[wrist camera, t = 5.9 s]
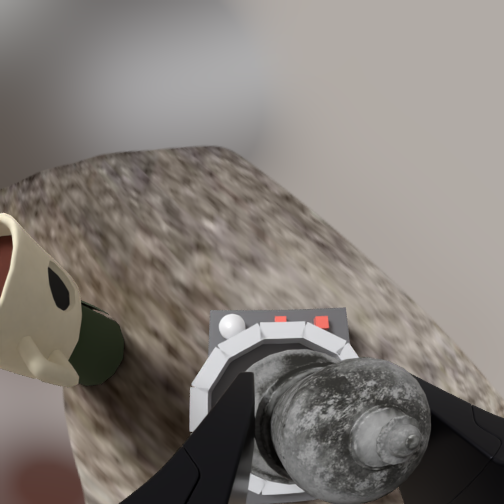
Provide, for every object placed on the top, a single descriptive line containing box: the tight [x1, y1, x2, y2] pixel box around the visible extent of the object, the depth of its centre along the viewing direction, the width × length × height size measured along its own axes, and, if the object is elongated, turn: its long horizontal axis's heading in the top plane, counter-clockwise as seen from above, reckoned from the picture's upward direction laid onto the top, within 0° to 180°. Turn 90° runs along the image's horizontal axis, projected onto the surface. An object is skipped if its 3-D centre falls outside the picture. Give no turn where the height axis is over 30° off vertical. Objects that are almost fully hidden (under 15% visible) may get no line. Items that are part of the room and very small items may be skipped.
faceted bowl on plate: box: [190, 307, 359, 504], centre depth 15 cm, size 13×10×4 cm
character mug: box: [0, 213, 124, 388], centre depth 13 cm, size 11×7×13 cm, turn 55°
